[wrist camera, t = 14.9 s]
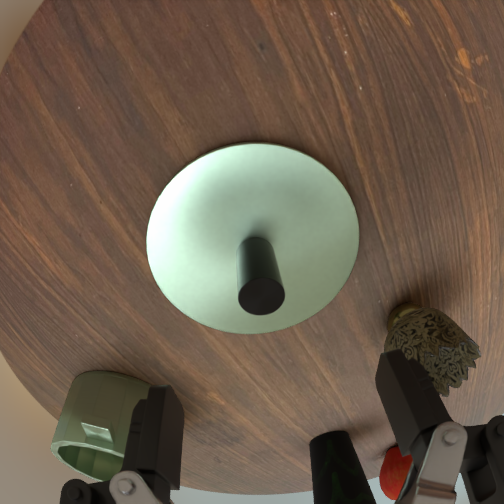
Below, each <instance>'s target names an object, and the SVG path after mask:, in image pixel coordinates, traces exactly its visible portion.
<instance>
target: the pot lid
mask: <svg viewBox="0 0 504 504" xmlns="http://www.w3.org/2000/svg"><path fill="white" fill-rule="evenodd" d="M358 247H359V224H358V218H357V214H356V210H355V207H354V205H353V202H352V200H351V197H350V195H349V194H348V192H347V190H346V189H345V187H344V186H343V184H342V183H341V182H340V181H339V179H338V178H337V177H336V176H335V175H334V174H333V173H332V172H331V171H330V170H329V169H328V168H327V167H325V166H324V165H323V164H322V163H321V162H319V161H317V160H316V159H314V158H313V157H311V156H310V155H308V154H306V153H304V152H301V151H299V150H297V149H295V148H291V147H288V146H284V145H281V144H275V143H268V142H243V143H236V144H230V145H227V146H223V147H220V148H216V149H214V150H212V151H209V152H207V153H205V154H203V155H201V156H199V157H198V158H196V159H194V160H193V161H191V162H189V163H188V164H187V165H186V166H184V167H183V168H182V169H181V170H180V171H178V172H177V173H176V174H175V175H174V177H173V178H172V179H171V180H170V181H169V182H168V183H167V185H166V186H165V188H164V189H163V191H162V192H161V194H160V195H159V197H158V198H157V200H156V203H155V205H154V207H153V209H152V212H151V215H150V218H149V222H148V227H147V234H146V250H147V256H148V262H149V265H150V268H151V271H152V274H153V276H154V278H155V280H156V283H157V285H158V286H159V288H160V289H161V291H162V292H163V294H164V295H165V296H166V297H167V298H168V300H169V301H170V302H171V303H172V304H173V305H174V306H175V307H176V308H178V309H179V310H180V311H181V312H182V313H184V314H185V315H187V316H188V317H190V318H191V319H193V320H195V321H197V322H199V323H201V324H203V325H205V326H208V327H210V328H213V329H217V330H220V331H224V332H230V333H237V334H261V333H268V332H274V331H278V330H282V329H285V328H288V327H291V326H294V325H296V324H298V323H300V322H302V321H305V320H306V319H308V318H310V317H311V316H313V315H315V314H316V313H317V312H319V311H320V310H321V309H323V308H324V307H325V306H326V305H327V304H328V303H329V302H330V301H332V300H333V299H334V297H335V296H336V295H337V294H338V293H339V291H340V290H341V289H342V287H343V286H344V284H345V283H346V281H347V280H348V278H349V276H350V274H351V272H352V269H353V267H354V264H355V261H356V258H357V253H358Z"/></svg>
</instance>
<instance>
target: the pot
mask: <svg viewBox="0 0 504 504" xmlns="http://www.w3.org/2000/svg"><path fill="white" fill-rule="evenodd" d="M150 386H152V385H150V384H148V383H146V382H144V381H142V380H139V379H136V378H134V377H131V376H128V375H124V374H120V373H115V372H108V371H90V372H86V373H83V374H80V375H79V376H77V377H76V378H75V379H74V381H73V382H72V385H71V388H70V390H69V393H68V396H67V398H66V401H65V404H64V407H63V410H62V413H61V416H60V419H59V422H58V425H57V428H56V431H55V434H54V437H53V440H52V444H51V451H52V452H53V454H54V455H55V456H56V458H57V459H58V460H60V461H61V462H63V463H64V464H65V465H67V466H68V467H69V468H71V469H73V470H75V471H77V472H78V473H80V474H82V475H84V476H87V477H88V478H91V479H94V480H96V481H99V482H103V481H107V480H110V479H112V478H113V476H114V475H115V474H117V473H118V472H120V470H121V468H122V465H123V459H124V453H125V448H126V442H127V437H128V433H129V427H130V424H131V417H132V412H133V409H134V407H135V406H136V404H137V403H138V401H139V400H140V399H147V396H148V391H149V388H150Z"/></svg>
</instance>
